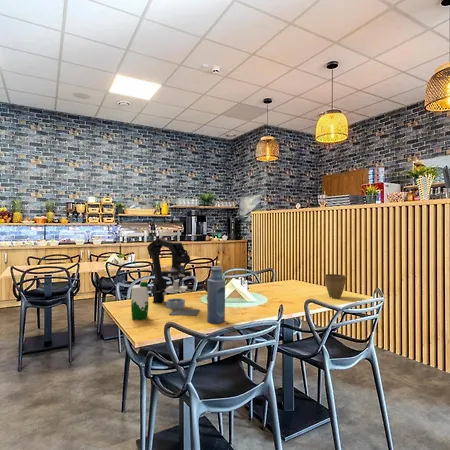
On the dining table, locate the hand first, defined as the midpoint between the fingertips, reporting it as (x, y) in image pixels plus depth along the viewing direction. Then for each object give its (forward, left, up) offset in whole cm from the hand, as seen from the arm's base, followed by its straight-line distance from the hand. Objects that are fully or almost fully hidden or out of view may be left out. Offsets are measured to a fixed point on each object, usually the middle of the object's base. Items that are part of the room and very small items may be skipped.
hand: (176, 287), depth 211 cm
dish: (-1, +1, -13) cm, 13 cm away
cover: (0, 0, -2) cm, 2 cm away
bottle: (+27, -28, -13) cm, 41 cm away
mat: (+7, -12, -13) cm, 19 cm away
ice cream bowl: (+19, +25, -13) cm, 34 cm away
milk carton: (-16, -25, -13) cm, 32 cm away
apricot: (-1, +1, -11) cm, 11 cm away
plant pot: (+108, +35, -13) cm, 115 cm away
